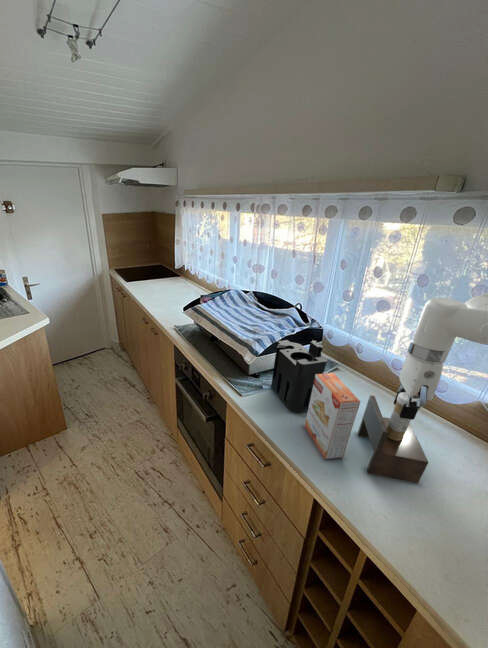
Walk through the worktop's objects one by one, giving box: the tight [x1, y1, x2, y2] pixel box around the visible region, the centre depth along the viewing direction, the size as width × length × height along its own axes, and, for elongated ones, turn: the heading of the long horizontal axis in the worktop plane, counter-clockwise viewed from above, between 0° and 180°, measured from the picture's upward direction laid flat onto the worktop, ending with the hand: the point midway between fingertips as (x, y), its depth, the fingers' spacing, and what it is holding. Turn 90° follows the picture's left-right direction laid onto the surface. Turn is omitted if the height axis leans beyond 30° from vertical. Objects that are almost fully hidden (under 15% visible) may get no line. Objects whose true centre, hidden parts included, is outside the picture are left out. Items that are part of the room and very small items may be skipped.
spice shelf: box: [357, 395, 429, 484], centre depth 85 cm, size 12×16×15 cm
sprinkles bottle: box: [387, 392, 418, 441], centre depth 82 cm, size 5×5×14 cm
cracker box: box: [304, 372, 361, 460], centre depth 89 cm, size 14×6×21 cm, turn 5°
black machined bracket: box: [270, 339, 329, 413], centre depth 110 cm, size 12×21×22 cm, turn 13°
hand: (403, 410), depth 81 cm, fingers open, 4 cm apart
